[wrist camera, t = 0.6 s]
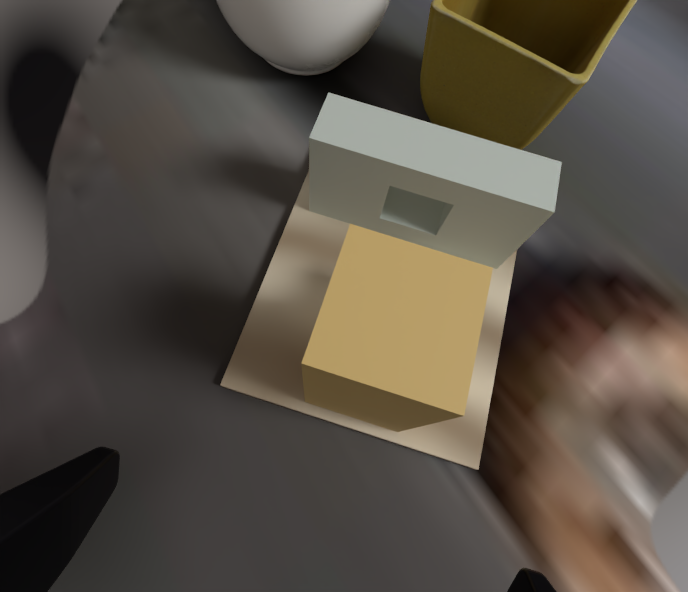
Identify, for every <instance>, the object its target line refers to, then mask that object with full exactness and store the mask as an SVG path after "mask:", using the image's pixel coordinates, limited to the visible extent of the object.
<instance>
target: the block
mask: <svg viewBox="0 0 688 592" xmlns="http://www.w3.org/2000/svg"><path fill="white" fill-rule="evenodd" d="M492 271H493V268H492V267H489V266H486V265H482V264H479V263H476V262H473V261H469V260H466V259H463V258H460V257H456V256H453V255H450V254H447V253H444V252H440V251H437V250H434V249H431V248H427V247H424V246H421V245H418V244H414V243H411V242H408V241H405V240H402V239H398V238H395V237H392V236H389V235H385V234H382V233H379V232H376V231H373V230H369V229H366V228H363V227H360V226H356V225H353V224H350V225H349V228H348V231H347V234H346V237H345V240H344V243H343V245H342V248H341V251H340V254H339V257H338V260H337V263H336V266H335V268H334V271H333V274H332V277H331V280H330V283H329V286H328V288H327V291H326V294H325V297H324V300H323V303H322V306H321V309H320V311H319V314H318V317H317V320H316V323H315V326H314V329H313V332H312V334H311V337H310V340H309V343H308V346H307V349H306V352H305V354H304V357H303V360H302V363H301V365H302V376H303V387H304V398H305V402H307V403H310V404H313V405H316V406H319V407H322V408H325V409H328V410H331V411H334V412H337V413H340V414H343V415H346V416H349V417H353V418H356V419H359V420H362V421H365V422H368V423H371V424H374V425H377V426H380V427H383V428H386V429H389V430H392V431H395V432H400V431H405V430H409V429H413V428H417V427H421V426H425V425H429V424H433V423H437V422H442V421H446V420H450V419H454V418H458V417H462V416H464V414H465V409H466V404H467V399H468V394H469V389H470V383H471V378H472V373H473V368H474V363H475V358H476V353H477V348H478V342H479V337H480V332H481V327H482V322H483V317H484V312H485V307H486V302H487V296H488V291H489V286H490V281H491V276H492Z"/></svg>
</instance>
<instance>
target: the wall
mask: <svg viewBox="0 0 688 592" xmlns="http://www.w3.org/2000/svg"><path fill="white" fill-rule="evenodd" d="M561 164H562V162H560V161H556V160H553V159H549V158H546V157H543V156H539V155H536V154H533V153H529V152H526V151H523V150H519V149H516V148H513V147H509V146H506V145H503V144H499V143H496V142H493V141H489V140H486V139H483V138H479V137H476V136H473V135H469V134H466V133H463V132H459V131H456V130H453V129H449V128H446V127H442V126H439V125H436V124H432V123H429V122H426V121H422V120H419V119H416V118H412V117H409V116H406V115H402V114H399V113H396V112H392V111H389V110H386V109H382V108H379V107H376V106H372V105H369V104H366V103H362V102H359V101H356V100H352V99H349V98H345V97H342V96H339V95H335V94H332V93H329V92H328V95H327V97H326V99H325V102H324V104H323V106H322V109H321V111H320V113H319V116H318V118H317V120H316V123H315V125H314V128H313V130H312V132H311V135H310V137H309V211H311V212H314V213H317V214H320V215H323V216H327V217H330V218H333V219H336V220H340V221H343V222H346V223H349V224H353V225H356V226H360V227H363V228H366V229H369V230H373V231H376V232H379V233H382V234H385V235H389V236H392V237H395V238H398V239H402V240H405V241H408V242H411V243H414V244H418V245H421V246H424V247H427V248H431V249H434V250H437V251H440V252H444V253H447V254H450V255H453V256H456V257H460V258H463V259H466V260H469V261H473V262H476V263H479V264H482V265H486V266H489V267H492V268H495V269H497V268H498V267H499V266H500V265H502V264H503V263H504V262H505V261H506V260H507V259H508V258H509V257H510V256H511V255H512V254H513V253H514V252H515V251H516V250H517V249H518V248H519V247H520V246H521V245H522V244H523V243H524V242H525V241H526V240H527V239H528V238H529V237H530V236H531V235H532V234H533V233H534V232H535V231H536V230H537V229H538V228H539V227H540V226H541V225H542V224H543V223H544V222H545V221H546V220H547V219H548V218H549V217H550V216H551V215H552V214H553V213H554V212H555V205H556V198H557V191H558V185H559V178H560V171H561Z"/></svg>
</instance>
